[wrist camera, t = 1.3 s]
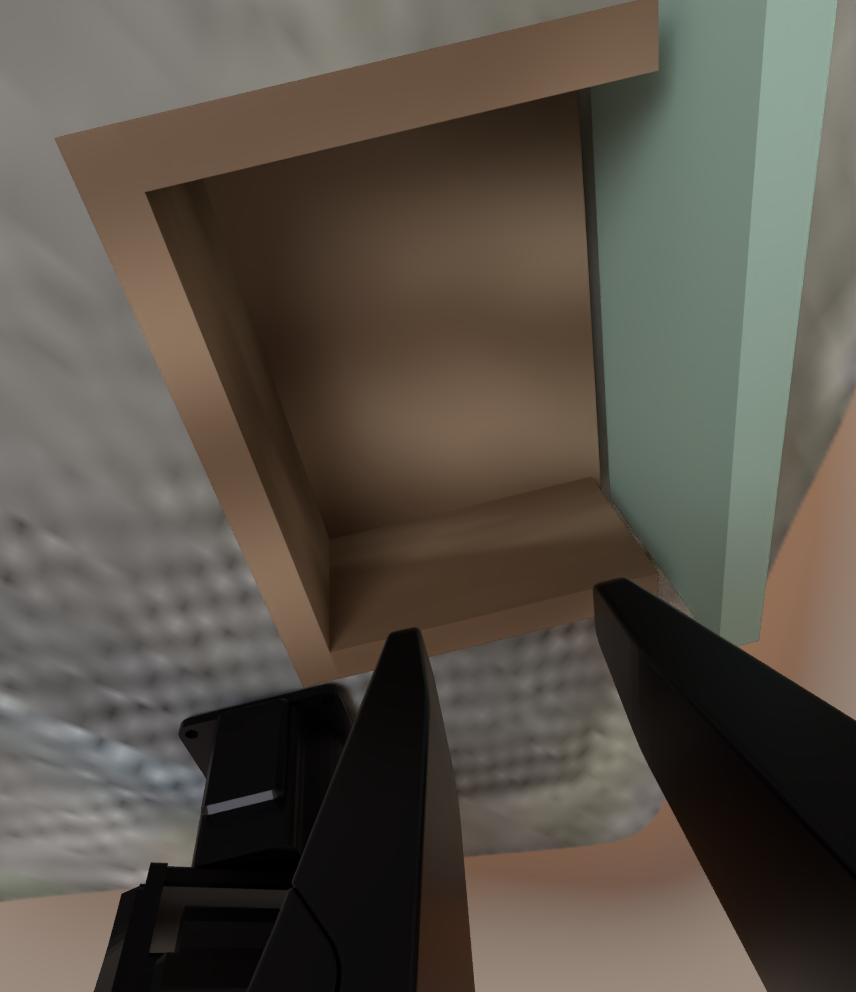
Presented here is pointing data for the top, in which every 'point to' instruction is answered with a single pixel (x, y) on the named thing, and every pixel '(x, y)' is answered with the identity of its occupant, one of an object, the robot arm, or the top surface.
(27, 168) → the top surface
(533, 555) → the crate
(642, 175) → the panel
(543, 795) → the top surface
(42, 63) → the top surface
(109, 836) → the top surface
